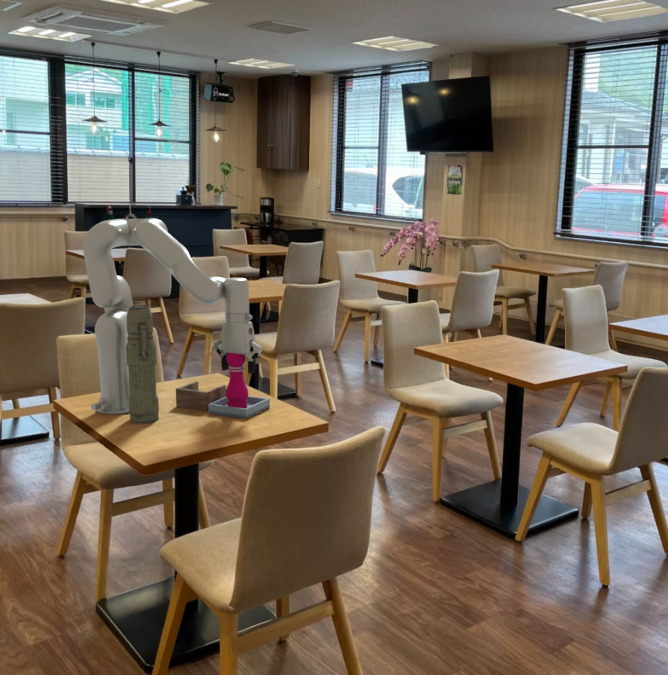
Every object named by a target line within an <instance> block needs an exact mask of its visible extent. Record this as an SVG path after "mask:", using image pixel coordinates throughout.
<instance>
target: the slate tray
mask: <svg viewBox="0 0 668 675" xmlns="http://www.w3.org/2000/svg"><path fill="white" fill-rule="evenodd" d="M270 400H271V399H270V398H267V397H261V396H251V395H248V397H247V398H246V401H247V408H238V407H231V406H227V402H228V401H229V400H228V399H227V398H226V397H224V398H222V399H220V400H217V401H215V402H212V403H210V404H208V408H209V410H208V414H211V415H217V416H223V417H231V416H232V417H231V418H236V417H239V418H238V419H243V418H246V419H245V420H248V419H250V418H251V416H252V417H254V416H255V414H256V413H258V412H260V411H262V410H264V409H266V410H268V409H270V408H271V406H270V404H271V403H270V402H271V401H270ZM269 407H270V408H269ZM267 408H268V409H267ZM264 411H265V410H264ZM262 412H263V411H262ZM260 413H261V412H260ZM258 414H259V413H258ZM253 415H254V416H253ZM256 415H257V414H256ZM249 417H250V418H249ZM247 418H248V419H247Z"/></svg>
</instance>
